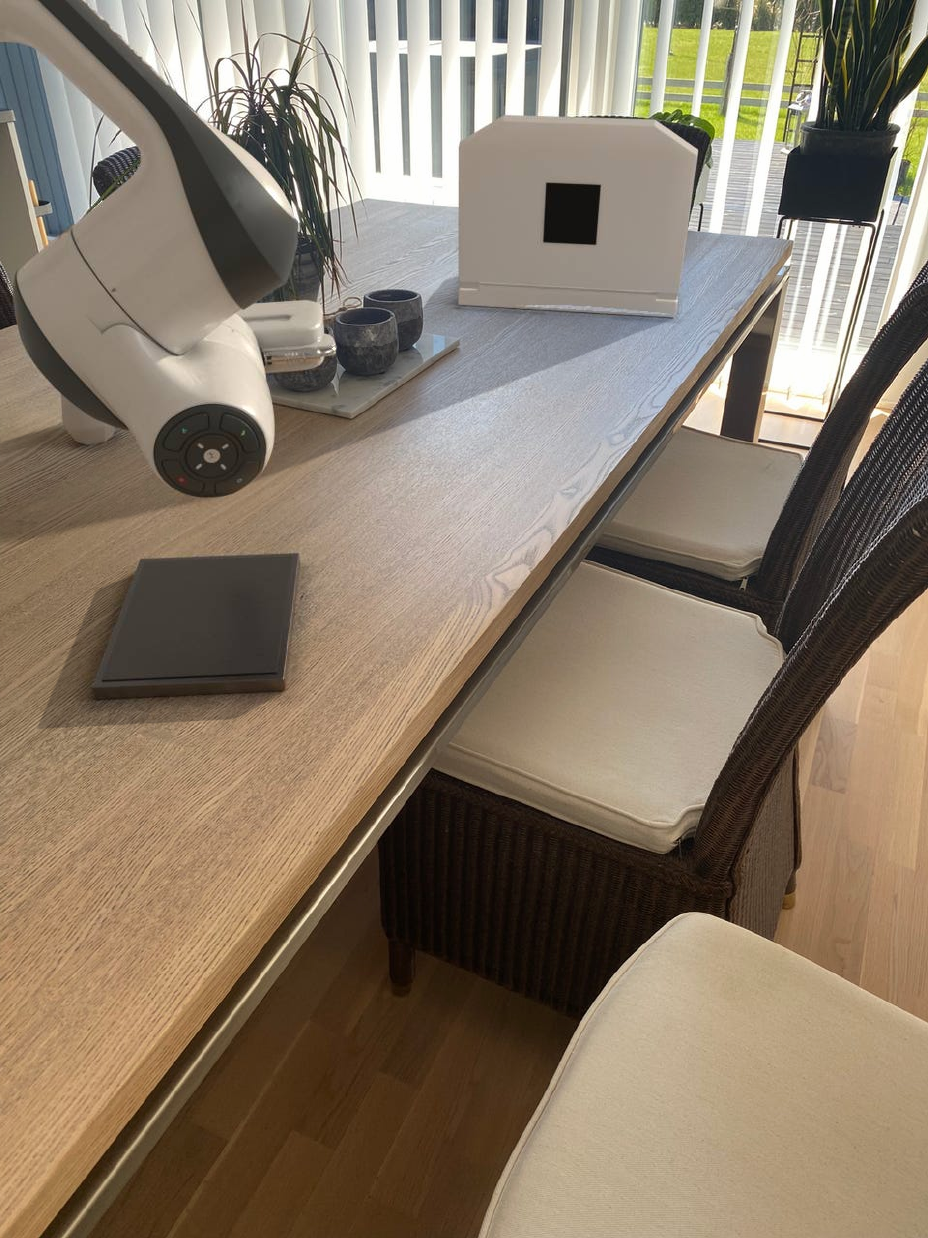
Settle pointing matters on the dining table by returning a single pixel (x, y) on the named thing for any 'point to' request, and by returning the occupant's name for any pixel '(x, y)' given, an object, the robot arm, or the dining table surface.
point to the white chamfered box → (574, 214)
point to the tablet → (202, 627)
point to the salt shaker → (84, 425)
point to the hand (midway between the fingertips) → (198, 309)
